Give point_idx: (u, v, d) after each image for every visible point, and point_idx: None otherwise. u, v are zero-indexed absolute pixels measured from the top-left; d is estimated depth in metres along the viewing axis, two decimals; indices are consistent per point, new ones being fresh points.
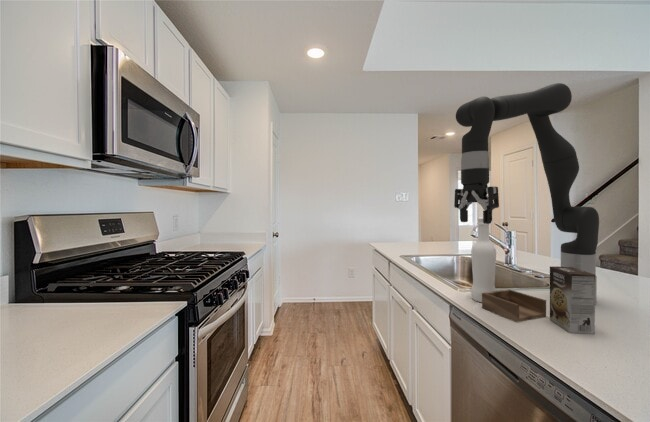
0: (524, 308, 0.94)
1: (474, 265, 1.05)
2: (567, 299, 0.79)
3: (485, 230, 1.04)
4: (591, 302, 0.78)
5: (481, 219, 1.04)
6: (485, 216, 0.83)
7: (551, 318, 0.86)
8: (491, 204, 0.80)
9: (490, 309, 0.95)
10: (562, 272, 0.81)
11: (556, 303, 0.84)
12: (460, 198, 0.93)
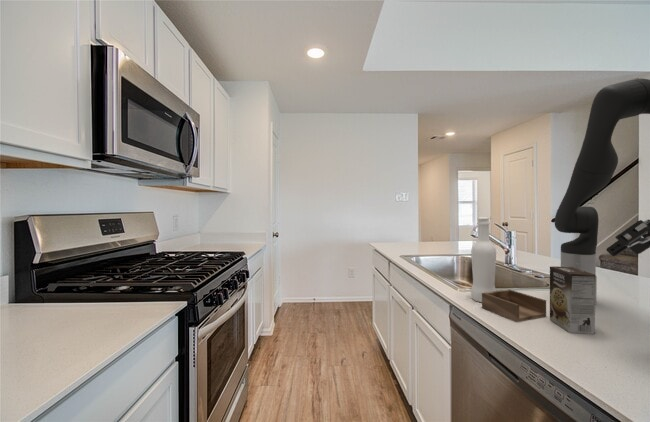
0: (524, 308, 0.94)
1: (474, 265, 1.05)
2: (567, 299, 0.79)
3: (485, 230, 1.04)
4: (591, 302, 0.78)
5: (481, 219, 1.04)
6: None
7: (551, 318, 0.86)
8: None
9: (490, 309, 0.95)
10: (562, 272, 0.81)
11: (556, 303, 0.83)
12: None
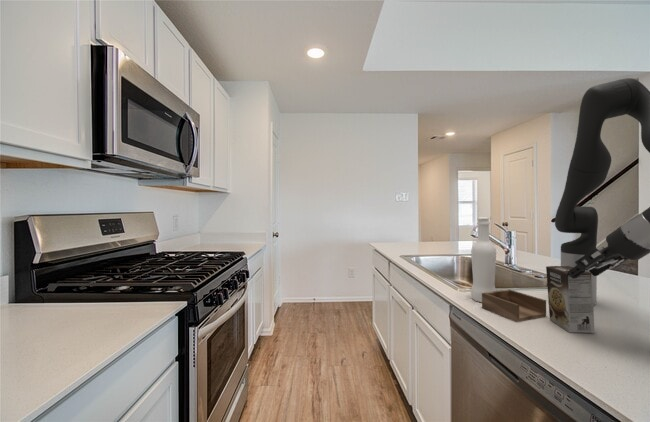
0: (524, 308, 0.94)
1: (474, 265, 1.05)
2: (565, 298, 0.79)
3: (485, 230, 1.04)
4: (589, 300, 0.78)
5: (481, 219, 1.04)
6: None
7: (551, 318, 0.86)
8: (619, 265, 0.77)
9: (490, 309, 0.95)
10: (558, 272, 0.81)
11: (555, 303, 0.84)
12: None
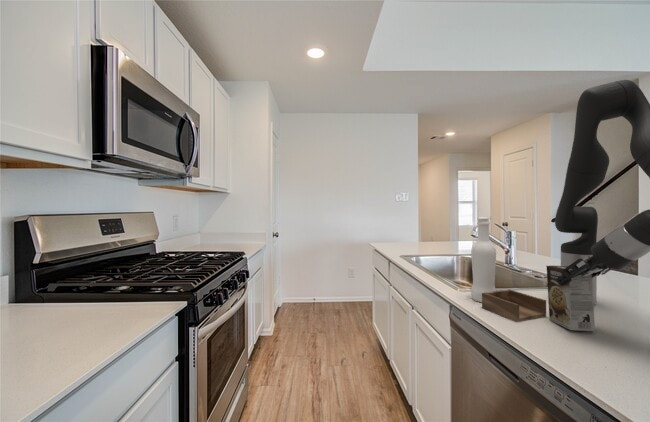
0: (524, 308, 0.94)
1: (474, 265, 1.05)
2: (566, 295, 0.80)
3: (485, 230, 1.04)
4: (589, 298, 0.78)
5: (481, 219, 1.04)
6: None
7: (551, 318, 0.86)
8: (606, 272, 0.80)
9: (490, 309, 0.95)
10: (559, 269, 0.82)
11: (555, 302, 0.84)
12: None
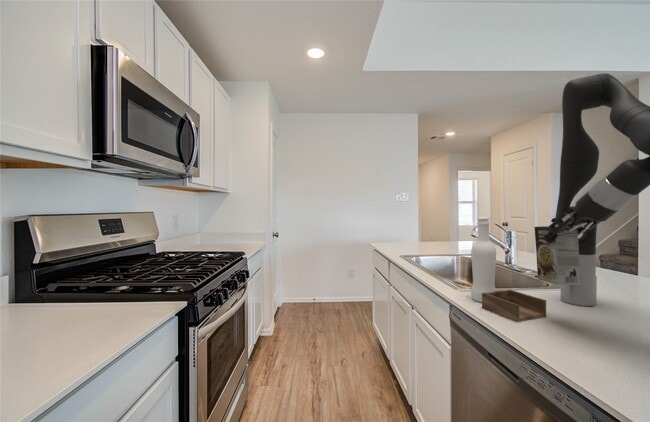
0: (524, 308, 0.94)
1: (474, 265, 1.05)
2: (553, 252, 0.82)
3: (485, 230, 1.04)
4: (575, 253, 0.81)
5: (481, 219, 1.04)
6: None
7: (539, 277, 0.88)
8: (591, 229, 0.82)
9: (490, 309, 0.95)
10: (546, 228, 0.84)
11: (543, 260, 0.86)
12: None
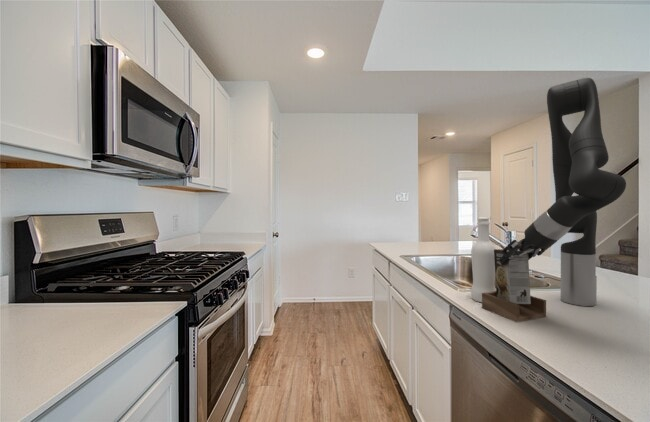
0: (524, 308, 0.94)
1: (474, 265, 1.05)
2: (507, 274, 0.91)
3: (485, 230, 1.04)
4: (526, 275, 0.90)
5: (481, 219, 1.04)
6: None
7: (497, 295, 0.98)
8: (541, 253, 0.92)
9: (490, 309, 0.95)
10: None
11: (500, 280, 0.95)
12: None
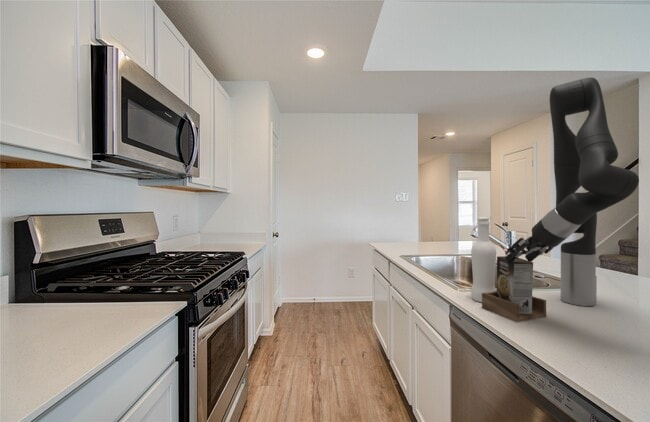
0: None
1: (474, 265, 1.05)
2: (510, 284, 0.90)
3: (485, 230, 1.04)
4: (529, 286, 0.89)
5: (481, 219, 1.04)
6: None
7: None
8: (548, 251, 0.89)
9: (490, 309, 0.95)
10: None
11: (502, 288, 0.95)
12: None
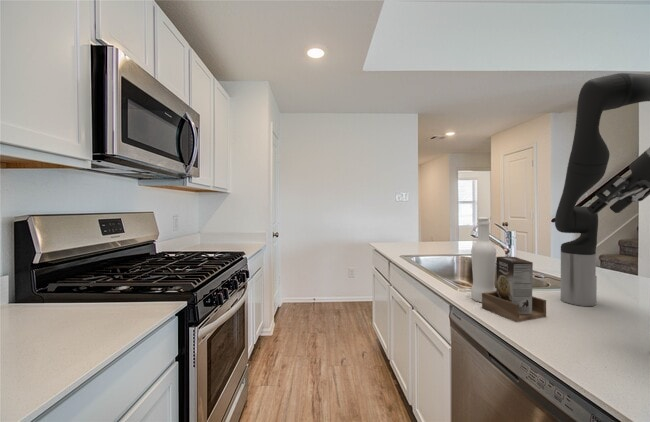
0: None
1: (474, 265, 1.05)
2: (510, 284, 0.90)
3: (485, 230, 1.04)
4: (529, 286, 0.89)
5: (481, 219, 1.04)
6: None
7: None
8: (644, 198, 0.72)
9: (490, 309, 0.95)
10: (506, 261, 0.92)
11: (501, 289, 0.95)
12: None
